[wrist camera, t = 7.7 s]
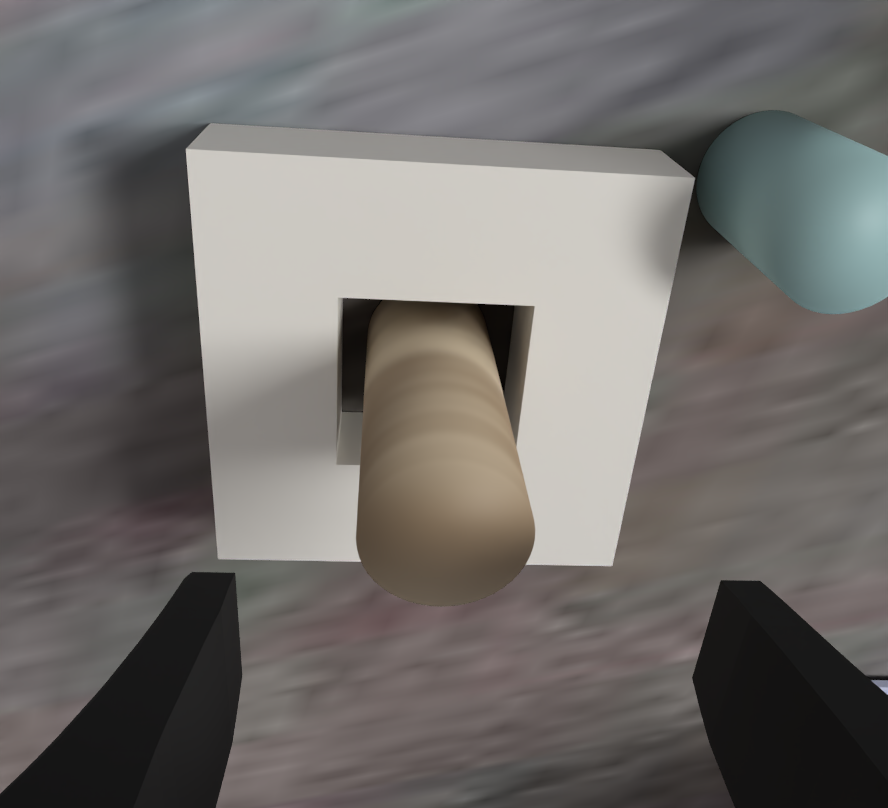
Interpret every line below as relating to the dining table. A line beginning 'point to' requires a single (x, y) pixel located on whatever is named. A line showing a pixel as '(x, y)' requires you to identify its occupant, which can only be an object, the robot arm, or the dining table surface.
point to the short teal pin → (801, 208)
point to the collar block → (435, 280)
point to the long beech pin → (438, 459)
